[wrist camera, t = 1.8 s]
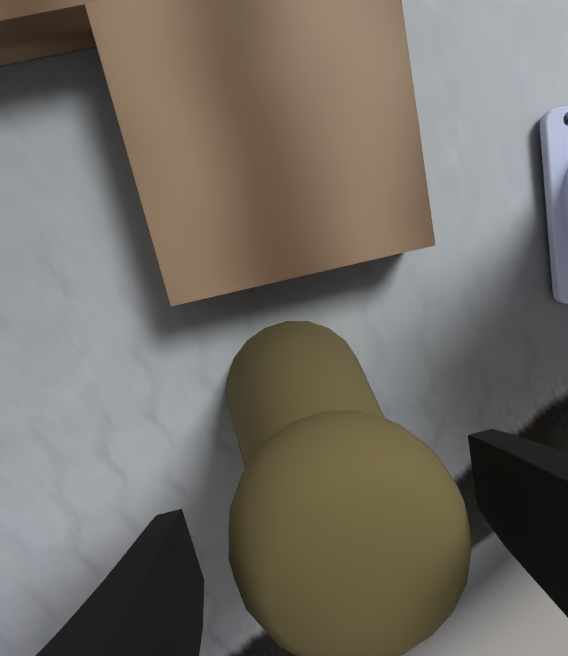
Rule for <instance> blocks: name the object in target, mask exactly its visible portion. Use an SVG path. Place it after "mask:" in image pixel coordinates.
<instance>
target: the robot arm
mask: <svg viewBox="0 0 568 656" xmlns="http://www.w3.org/2000/svg"><path fill="white" fill-rule="evenodd" d="M564 115H565V116H567V118H568V106H564V107H560V108H555V109H553V110H551V111H549V112H546V113H545V114H544V115H543V116H542V118H541V121H540V136H541V149H542V161H543V174H544V187H545V199H546V212H547V225H548V237H549V250H550V263H551V275H552V288H553V296H554V299H555V300H556V301H558V302H560V303H565V304H567V303H568V124H567V125H565V124H564V121H563V118H564ZM468 440H469V447H470V454H471V462H472V469H473V477H474V484H475V491H476V499H477V506H478V508H479V510H480V511H481V513H482V514H483V516H484V517H485V519H486V520H487V521H488V523H489V524H490V526H491V527H492V529H493V530H494V532H495V533H496V534H497V536H498V537H499V539H500V540H501V541H502V543H503V544H504V545H505V547H506V548H507V549H508V550H509V551H510V552H511V554H512V555H513V556H514V557H515V558H516V559H517V560H518V562H519V563H520V564H521V565H522V566H523V567H524V568H525V570H526V571H527V572H528V573H529V574H530V575H531V576H532V577H533V579H534V580H535V581H536V582H537V583H538V584H539V585H540V587H541V588H542V589H543V590H544V591H545V592H546V593H547V594H548V596H549V597H550V598H551V599H552V600H553V601H554V602H555V603H556V605H557V606H558V607H559V608H560V609H561V610H562V611H563V612H564V614H565V615H566V616H567V617H568V452H565V451H562V450H559V449H556V448H553V447H550V446H547V445H544V444H540V443H537V442H534V441H531V440H528V439H525V438H522V437H519V436H515V435H512V434H509V433H505V432H501V431H497V430H493V429H490V430H486V431H482V432H478V433H474V434H470V435H468ZM203 605H204V579H203V575H202V572H201V569H200V566H199V563H198V559H197V556H196V553H195V550H194V547H193V543H192V540H191V537H190V534H189V531H188V527H187V524H186V521H185V518H184V515H183V511H182V509H179V510H175V511H171V512H167V513H163V514H160V515H156V517H155V518H154V519H153V520H152V521H151V522H150V523H149V525H148V526H147V527H146V528H145V530H144V531H143V532H142V533H141V535H140V536H139V537H138V538H137V540H136V541H135V542H134V543H133V545H132V546H131V547H130V548H129V550H128V551H127V552H126V554H125V555H124V556H123V557H122V558H121V560H120V561H119V562H118V563H117V565H116V566H115V567H114V568H113V570H112V571H111V572H110V573H109V575H108V576H107V577H106V578H105V579H104V581H103V582H102V583H101V584H100V585H99V587H98V588H97V589H96V590H95V591H94V592H93V593H92V595H91V596H90V597H89V598H88V599H87V600H86V601H85V603H84V604H83V605H82V606H81V607H80V608H79V609H78V611H77V612H76V613H75V614H74V615H73V616H72V617H71V619H70V620H69V621H68V622H67V623H66V624H65V625H64V627H63V628H62V629H61V630H60V631H59V632H58V633H57V634H56V635H55V636H54V637H53V638H52V639H51V640H50V641H49V643H48V644H47V645H46V646H45V647H44V648H43V649H42V650H41V651H40V652H39V653H38V654H37V655H36V656H199V651H200V644H201V636H202V628H203Z"/></svg>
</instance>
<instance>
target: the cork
mask: <svg viewBox="0 0 568 656" xmlns="http://www.w3.org/2000/svg"><path fill="white" fill-rule="evenodd" d="M227 399H228V403H229V407H230V411H231V415H232V419H233V423H234V427H235V431H236V435H237V439H238V443H239V446H240V450H241V454H242V458H243V462H244V466H245V470H244V472H243V474H242V476H241V479H240V482H239V485H238V488H237V490H236V493H235V496H234V499H233V502H232V504H231V507H230V517H229V562H230V565H231V569H232V572H233V576H234V579H235V582H236V584H237V587H238V589H239V592H240V594H241V597H242V599H243V602H244V605H245V607H246V610H247V611H248V612H249V613H250V614H251V615H252V616H253V617H254V619H255V620H256V621H257V622H258V623H259V624H260V625H261V626H262V627H263V629H264V630H265V631H266V632H267V633H268V634H269V635H270V636H271V637H272V638H273V640H274V641H275V642H276V643H277V644H278V645H279V646H280V647H282V648H283V649H285V650H287V651H289V652H291V653H293V654H295V655H296V656H399V655H402V654H404V653H406V652H407V651H409V650H410V649H412V648H413V647H415V646H417V645H418V644H419V643H421V642H423V641H424V640H426V639H427V638H429V637H430V636H431V635H433V634H434V632H435V631H436V630H437V629H438V628H439V627H440V626H441V625H442V623H443V622H444V621H445V620H446V619H447V618H448V617H449V616H450V615H451V613H452V612H453V611H454V609H455V607H456V604H457V603H458V601H459V599H460V596H461V594H462V592H463V590H464V588H465V586H466V584H467V579H468V571H469V563H470V555H471V529H470V525H469V521H468V516H467V512H466V507H465V503H464V500H463V498H462V496H461V493H460V491H459V489H458V486H457V484H456V483H455V481H454V480H453V478H452V477H451V475H450V474H449V472H448V471H447V469H446V468H445V466H444V465H443V463H442V462H441V460H440V459H439V457H438V456H437V455H436V454H435V453H434V452H433V451H432V450H431V449H430V448H429V447H428V446H427V445H426V444H425V443H424V442H423V441H421V440H420V439H418V438H417V437H416V436H414V435H413V434H411V433H410V432H409V431H407V430H406V429H405V428H403V427H402V426H400V425H399V424H396V423H394V422H392V421H390V420H387V419H385V417H384V415H383V413H382V411H381V409H380V407H379V404H378V402H377V400H376V398H375V396H374V394H373V392H372V389H371V387H370V385H369V383H368V381H367V379H366V376H365V374H364V372H363V370H362V368H361V366H360V363H359V361H358V359H357V357H356V356H355V354H354V353H353V351H352V350H351V348H350V347H349V345H348V344H347V342H346V341H345V340H344V339H342V338H341V337H340V336H338V335H337V334H336V333H334V332H333V331H332V330H330V329H329V328H326V327H323V326H320V325H317V324H314V323H311V322H308V321H286V322H283V323H280V324H277V325H273V326H270V327H267V328H265V329H263V330H262V331H260V332H259V333H257V334H256V335H255V336H253V337H252V338H250V339H249V340H248V341H247V342H246V343H245V344H244V346H243V347H242V348H241V350H240V351H239V352H238V354H237V355H236V356H235V358H234V360H233V363H232V366H231V369H230V372H229V375H228V378H227Z"/></svg>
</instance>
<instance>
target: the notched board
mask: <svg viewBox="0 0 568 656" xmlns="http://www.w3.org/2000/svg"><path fill="white" fill-rule="evenodd" d="M96 46H97V49H98V52H99V56H100V59H101V63H102V66H103V70H104V73H105V77H106V80H107V84H108V87H109V91H110V94H111V98H112V102H113V105H114V109H115V112H116V116H117V119H118V123H119V126H120V130H121V133H122V137H123V140H124V144H125V147H126V151H127V154H128V158H129V161H130V165H131V168H132V172H133V175H134V179H135V182H136V186H137V189H138V193H139V196H140V200H141V203H142V207H143V210H144V214H145V217H146V221H147V224H148V228H149V231H150V235H151V238H152V242H153V245H154V249H155V253H156V256H157V260H158V263H159V267H160V270H161V274H162V277H163V281H164V284H165V288H166V291H167V295H168V298H169V302H170V305H171V306H175V305H180V304H184V303H188V302H192V301H197V300H201V299H205V298H210V297H214V296H218V295H223V294H227V293H231V292H236V291H240V290H244V289H249V288H253V287H257V286H262V285H266V284H270V283H274V282H279V281H283V280H287V279H292V278H296V277H300V276H305V275H309V274H313V273H318V272H322V271H326V270H331V269H335V268H339V267H344V266H348V265H352V264H356V263H361V262H365V261H369V260H374V259H378V258H382V257H387V256H391V255H395V254H400V253H404V252H408V251H413V250H417V249H421V248H426V247H430V246H434V245H435V239H434V232H433V225H432V218H431V210H430V203H429V196H428V189H427V181H426V174H425V167H424V160H423V153H422V145H421V138H420V131H419V124H418V116H417V109H416V102H415V95H414V87H413V80H412V73H411V66H410V58H409V51H408V44H407V37H406V29H405V22H404V15H403V8H402V0H0V66H2V65H7V64H12V63H17V62H22V61H27V60H32V59H37V58H42V57H47V56H52V55H57V54H61V53H66V52H71V51H76V50H81V49H86V48H91V47H96Z"/></svg>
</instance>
